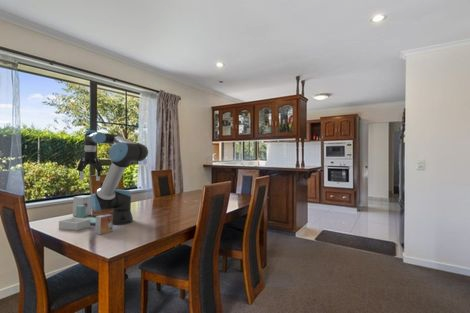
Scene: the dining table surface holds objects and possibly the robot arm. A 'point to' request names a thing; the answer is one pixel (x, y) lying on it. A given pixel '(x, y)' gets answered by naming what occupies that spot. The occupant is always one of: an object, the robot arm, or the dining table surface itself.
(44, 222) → the dining table surface
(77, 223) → the tub
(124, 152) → the robot arm
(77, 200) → the supplement box
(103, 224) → the small box
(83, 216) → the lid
